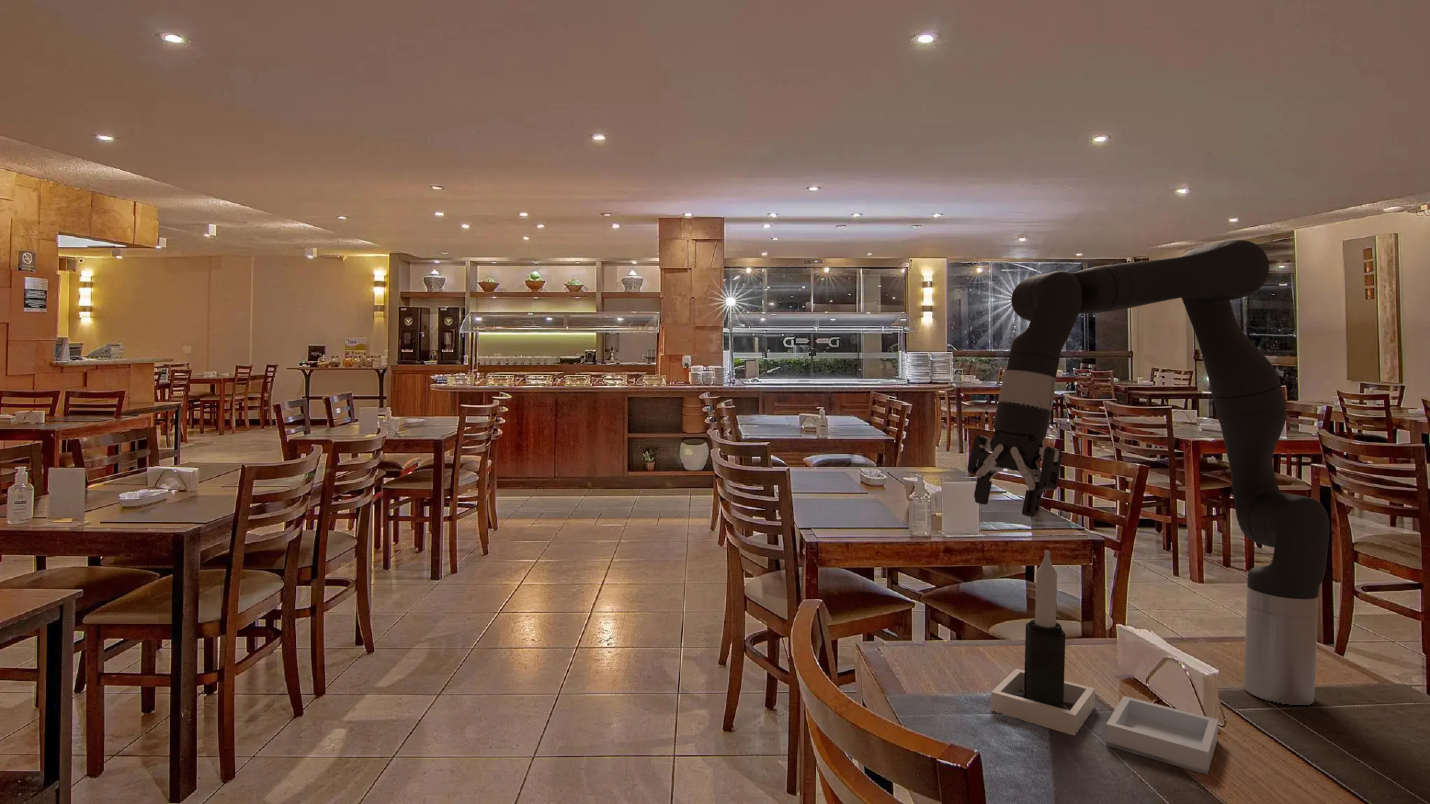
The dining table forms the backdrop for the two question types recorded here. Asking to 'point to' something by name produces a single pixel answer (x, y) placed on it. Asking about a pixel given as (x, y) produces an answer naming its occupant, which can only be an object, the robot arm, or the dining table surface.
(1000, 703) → the grey frame
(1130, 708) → the grey tray
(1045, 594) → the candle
